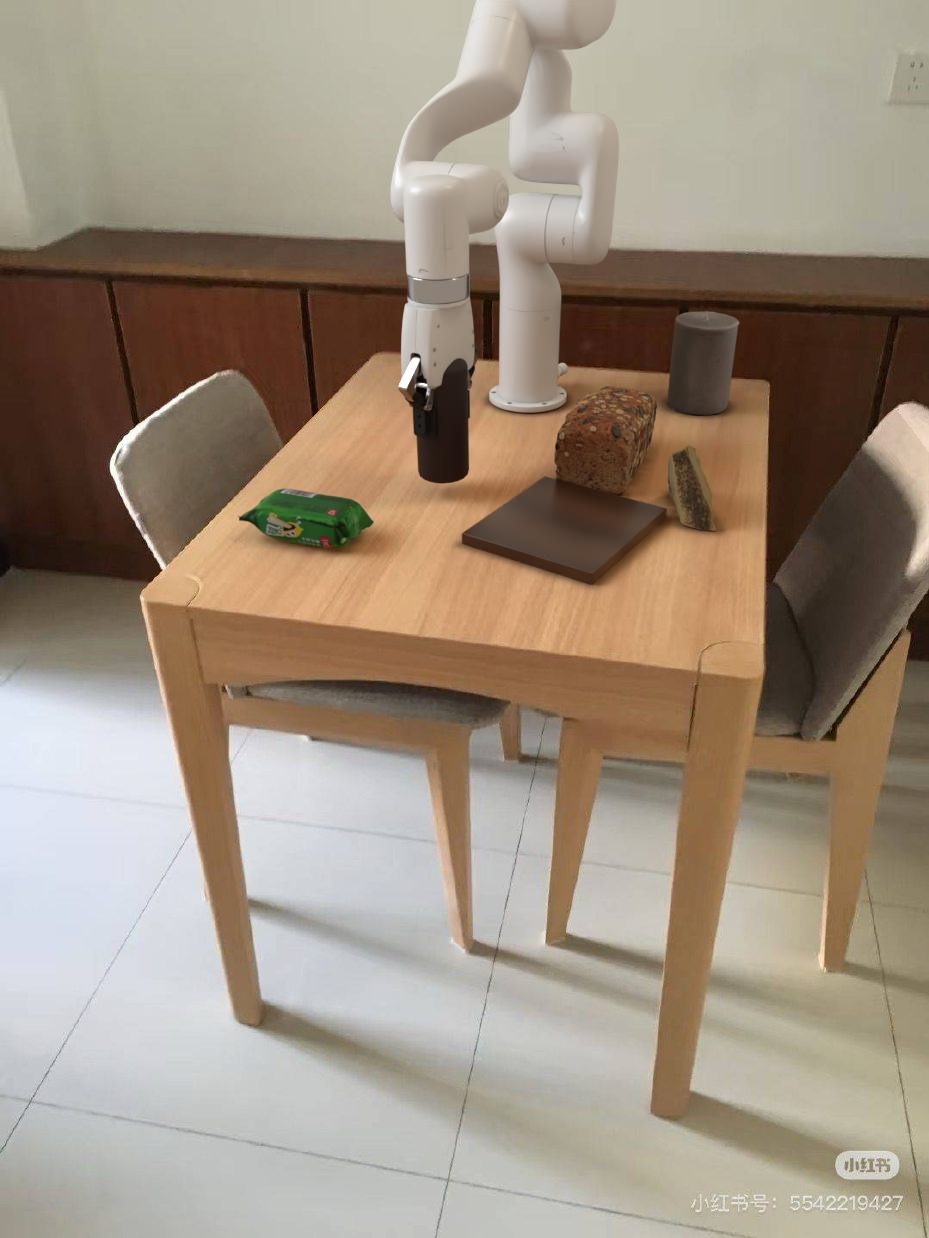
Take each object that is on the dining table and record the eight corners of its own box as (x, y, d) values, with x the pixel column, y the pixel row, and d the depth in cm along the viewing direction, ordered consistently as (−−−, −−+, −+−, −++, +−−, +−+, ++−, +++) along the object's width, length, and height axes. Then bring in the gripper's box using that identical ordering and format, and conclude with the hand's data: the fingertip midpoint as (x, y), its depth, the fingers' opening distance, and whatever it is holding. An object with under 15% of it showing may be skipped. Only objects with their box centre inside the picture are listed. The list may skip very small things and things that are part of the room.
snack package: (266, 515, 132) (261, 478, 130) (377, 533, 128) (374, 495, 125) (238, 540, 127) (232, 502, 124) (353, 559, 122) (349, 521, 119)
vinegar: (468, 462, 139) (466, 315, 128) (470, 484, 133) (467, 332, 122) (418, 463, 139) (411, 316, 128) (418, 485, 133) (411, 334, 122)
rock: (652, 471, 137) (632, 491, 129) (697, 426, 133) (680, 444, 124) (708, 528, 137) (692, 552, 129) (756, 486, 133) (743, 507, 124)
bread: (626, 499, 135) (631, 428, 130) (548, 488, 139) (551, 418, 133) (655, 447, 150) (662, 381, 145) (585, 438, 153) (589, 373, 148)
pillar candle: (664, 413, 162) (674, 318, 154) (668, 392, 170) (677, 301, 162) (727, 418, 160) (740, 322, 152) (728, 396, 168) (740, 304, 160)
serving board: (544, 485, 139) (544, 475, 138) (666, 518, 131) (667, 508, 130) (461, 543, 125) (461, 533, 125) (591, 585, 117) (592, 573, 116)
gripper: (453, 267, 130) (456, 400, 140) (368, 301, 118) (378, 444, 128) (503, 275, 127) (502, 411, 137) (420, 311, 115) (426, 457, 125)
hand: (442, 426), depth 132 cm, fingers closed on vinegar, 6 cm apart
